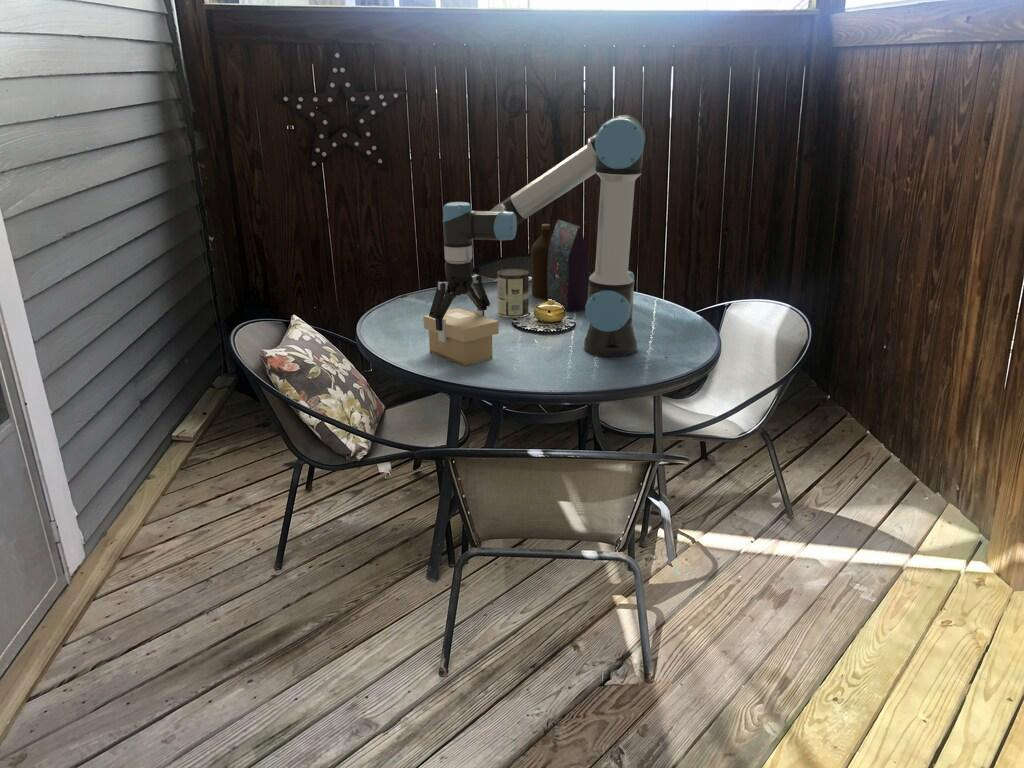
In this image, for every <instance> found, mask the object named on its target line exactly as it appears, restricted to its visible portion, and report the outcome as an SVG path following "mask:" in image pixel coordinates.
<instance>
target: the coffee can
mask: <svg viewBox="0 0 1024 768" xmlns="http://www.w3.org/2000/svg"><path fill="white" fill-rule="evenodd" d="M496 273H497V312H498V313H497V315H498V316H499V317H501V318H507V319H516V318H515V317H520V316H524V315H527V314H529V315H530V312H529V310H530V309H529V299H530V298H529V291H530V290H529V285H530V284H529V283H530V281H529V275H530V271H528V270H526V269H522V268H505V269H501V270H498V271H497V272H496ZM527 316H528V315H527Z"/></svg>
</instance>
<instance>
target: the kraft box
mask: <svg viewBox="0 0 1024 768" xmlns="http://www.w3.org/2000/svg"><path fill="white" fill-rule="evenodd" d="M428 340H429V341H428V342H429V343H428V344H429V346H428V347H429V353H430V354H433V355H436V356H437V357H440V358H443V359H444V360H445V359H446V360H448V361H450V362H452V363H455V364H458V365H460V366H463V367H467V366H471V365H474V364H477V363H480V362H484V361H488V360H492V359H493V335H491V336H487V337H483V338H480V339H476V340H472V341H468V342H461V341H458V340H455V339H453V338H450V337H447V336H446V340H447V342H445V343H444V342H441V341H439V340H438V333H436V332H433V331H430V330H428Z"/></svg>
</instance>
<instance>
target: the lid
mask: <svg viewBox="0 0 1024 768" xmlns="http://www.w3.org/2000/svg"><path fill="white" fill-rule="evenodd" d="M443 319H446V336H447V337H450V338H453V339H455V340H458V341H461V342H468V341H472V340H476V339H480V338H483V337H487V336H491V335H492V336H494V335H495V336H496V335H499V333H500V332H499V331H500V330H499V324H500V323H499V320H496V319H493V318H491V317H487V316H485V315H484V316H481V315H478V314H475V313H474V312H471V311H468V310H465V309H461V308H459V307H457V308H453V309H449V310H447V312H446V314H445V316H444V317H443ZM423 329H425V330H428V331H429V330H430V331H433V332H436V333H438V330H436V319H435V318H432V317H429V314H427V315H423Z"/></svg>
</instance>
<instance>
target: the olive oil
mask: <svg viewBox="0 0 1024 768" xmlns="http://www.w3.org/2000/svg"><path fill="white" fill-rule="evenodd" d="M551 226H552V225H551V224H550V223H543V224H541V228H540V232H541V235H540V236H539V237H538V239H536V240H535V242H534V243H532V246H531V248H530V265H531V266H530V267H531V269H530V271H531V295H532V296H533V297H536V298H539V299H540V298H542V299H547V266H548V247H549V244H550V241H551V238H552V229H551Z"/></svg>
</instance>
